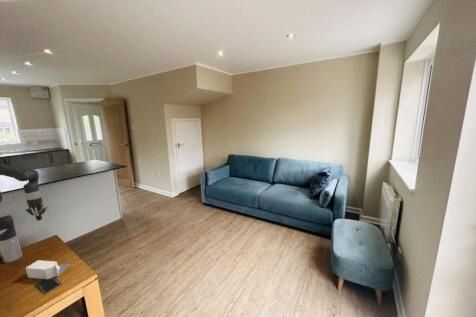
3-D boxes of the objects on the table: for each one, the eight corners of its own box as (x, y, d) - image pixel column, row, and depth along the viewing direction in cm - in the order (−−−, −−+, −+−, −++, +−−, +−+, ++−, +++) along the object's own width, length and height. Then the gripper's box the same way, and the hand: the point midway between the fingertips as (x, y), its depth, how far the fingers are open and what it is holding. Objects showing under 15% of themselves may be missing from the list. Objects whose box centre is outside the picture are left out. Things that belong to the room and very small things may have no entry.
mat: (32, 278, 124) (32, 277, 124) (46, 266, 134) (45, 266, 134) (59, 275, 125) (58, 274, 125) (70, 264, 135) (70, 263, 135)
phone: (51, 275, 125) (61, 283, 118) (51, 276, 125) (62, 284, 118) (34, 284, 118) (44, 293, 111) (34, 285, 119) (45, 294, 111)
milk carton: (28, 277, 124) (52, 280, 121) (25, 267, 123) (50, 270, 120) (40, 269, 131) (64, 271, 128) (38, 260, 130) (61, 261, 127)
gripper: (18, 200, 133) (24, 223, 136) (38, 198, 134) (44, 221, 137) (28, 196, 140) (34, 218, 144) (48, 194, 142) (53, 216, 145)
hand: (39, 220), depth 141 cm, fingers closed
